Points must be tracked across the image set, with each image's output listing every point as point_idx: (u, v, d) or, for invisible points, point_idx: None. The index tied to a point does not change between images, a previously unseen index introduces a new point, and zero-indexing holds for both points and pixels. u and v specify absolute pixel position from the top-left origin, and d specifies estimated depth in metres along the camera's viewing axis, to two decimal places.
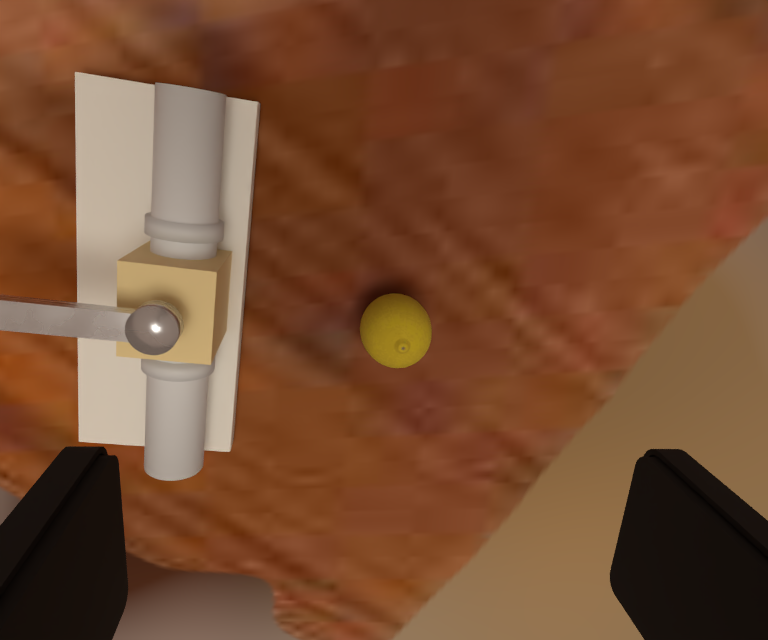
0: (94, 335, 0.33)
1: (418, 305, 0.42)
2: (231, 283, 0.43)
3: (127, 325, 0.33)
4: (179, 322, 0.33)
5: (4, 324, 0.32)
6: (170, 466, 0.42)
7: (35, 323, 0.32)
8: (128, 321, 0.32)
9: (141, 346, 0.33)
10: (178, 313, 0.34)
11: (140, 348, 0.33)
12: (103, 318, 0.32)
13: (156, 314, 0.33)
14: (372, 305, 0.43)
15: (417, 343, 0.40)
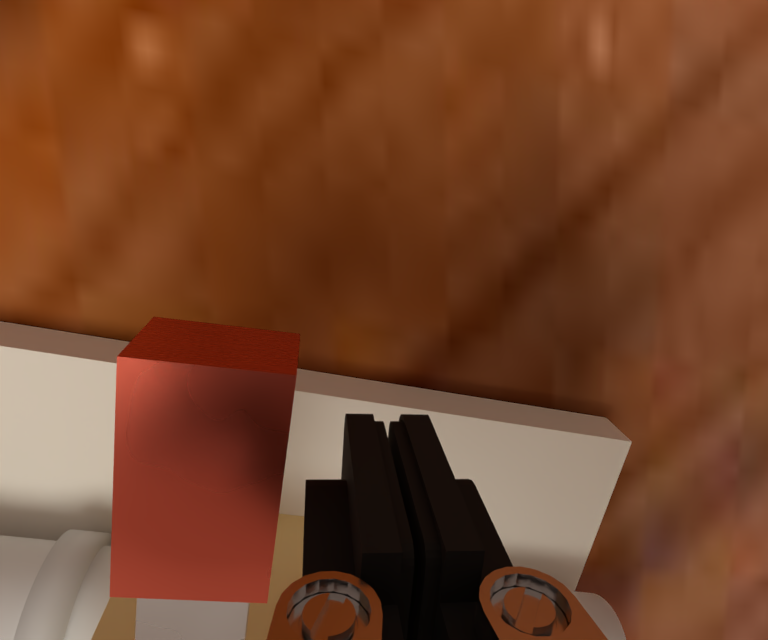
0: None
1: None
2: None
3: None
4: None
5: (158, 625, 0.09)
6: None
7: None
8: None
9: None
10: None
11: None
12: None
13: None
14: None
15: None
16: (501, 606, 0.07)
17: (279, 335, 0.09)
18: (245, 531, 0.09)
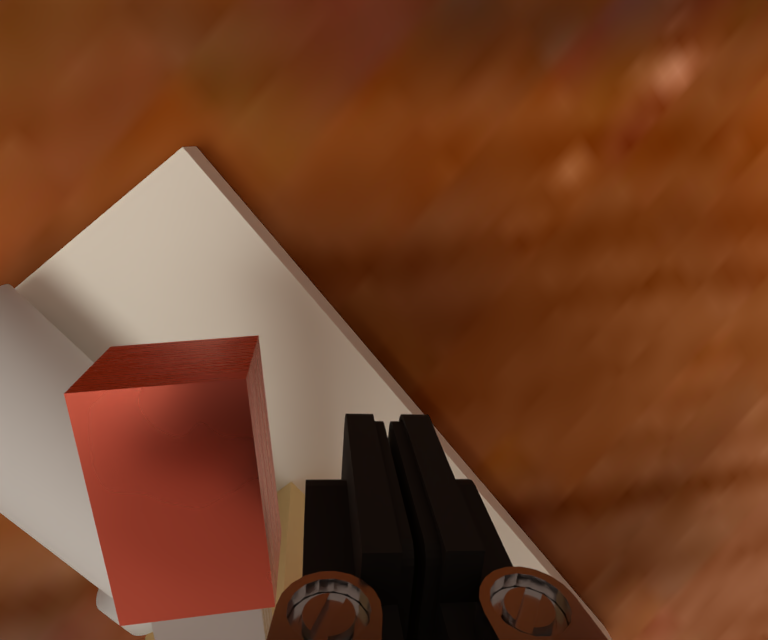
0: None
1: None
2: None
3: None
4: None
5: None
6: None
7: None
8: None
9: None
10: None
11: None
12: None
13: None
14: None
15: None
16: (501, 606, 0.07)
17: (236, 341, 0.09)
18: (235, 540, 0.08)
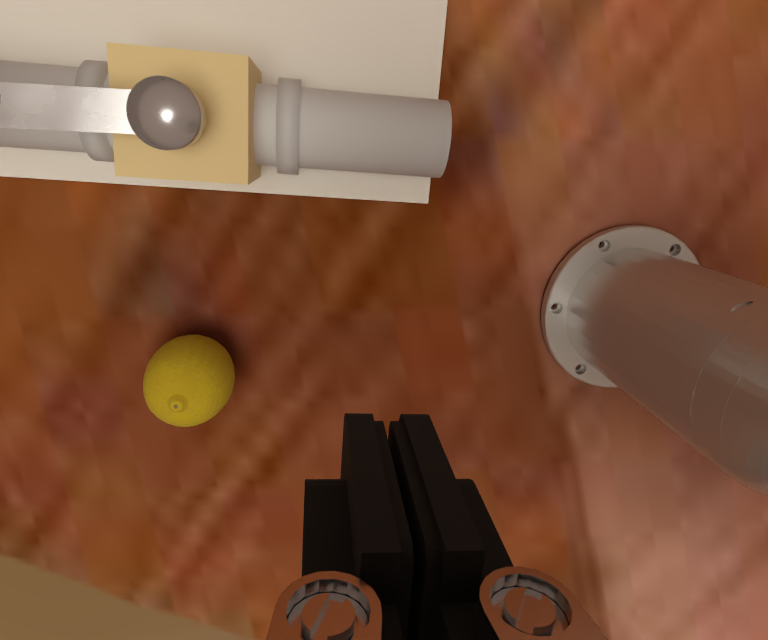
0: (86, 126, 0.24)
1: (226, 402, 0.36)
2: None
3: (129, 106, 0.24)
4: (199, 103, 0.24)
5: None
6: None
7: (4, 112, 0.23)
8: (130, 99, 0.24)
9: (151, 137, 0.24)
10: (197, 95, 0.25)
11: (150, 140, 0.24)
12: (96, 99, 0.24)
13: (167, 86, 0.24)
14: (218, 350, 0.36)
15: (183, 418, 0.33)
16: (501, 606, 0.07)
17: None
18: None
